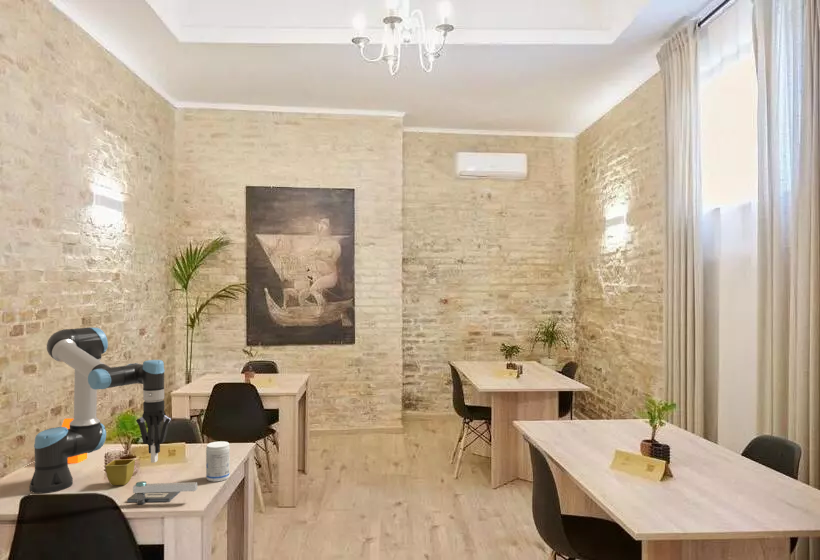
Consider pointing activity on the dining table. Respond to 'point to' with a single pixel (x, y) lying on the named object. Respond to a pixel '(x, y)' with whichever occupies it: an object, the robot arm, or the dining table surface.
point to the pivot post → (140, 498)
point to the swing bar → (164, 487)
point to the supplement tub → (217, 461)
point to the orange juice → (79, 457)
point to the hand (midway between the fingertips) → (154, 461)
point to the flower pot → (120, 471)
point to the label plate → (155, 497)
